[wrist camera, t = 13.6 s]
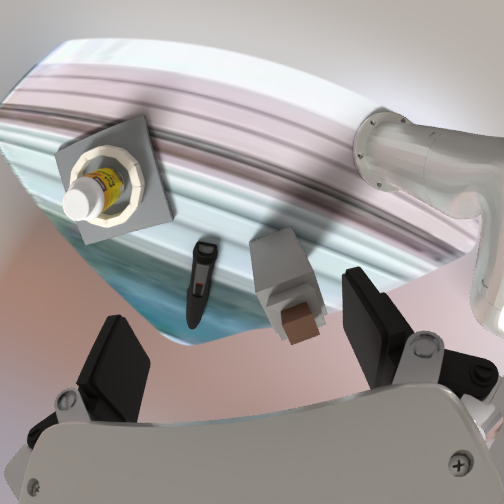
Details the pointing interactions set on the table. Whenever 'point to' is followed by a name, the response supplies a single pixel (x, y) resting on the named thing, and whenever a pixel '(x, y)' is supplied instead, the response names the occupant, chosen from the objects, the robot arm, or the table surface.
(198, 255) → the electric trimmer
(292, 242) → the perfume bottle
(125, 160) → the collar
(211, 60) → the table surface
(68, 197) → the supplement bottle
